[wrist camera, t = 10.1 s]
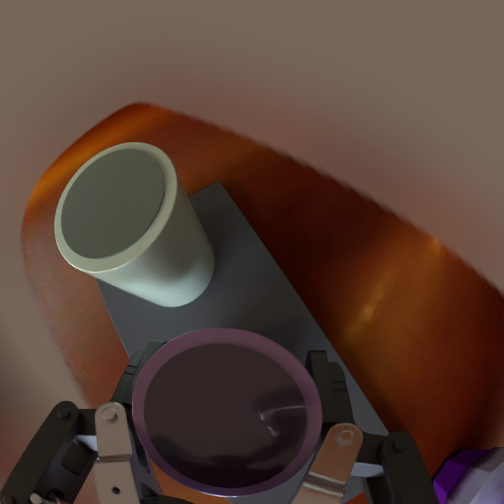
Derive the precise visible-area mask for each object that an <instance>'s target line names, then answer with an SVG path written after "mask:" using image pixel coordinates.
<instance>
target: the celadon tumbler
mask: <svg viewBox="0 0 504 504" xmlns="http://www.w3.org/2000/svg"><path fill="white" fill-rule="evenodd" d="M55 237H56V242H57V245H58V248H59V250H60V252H61V254H62V255H63V257H64V258H65V259H66V260H67V261H68V262H69V264H71V265H72V266H74V267H75V268H77V269H79V270H81V271H83V272H85V273H87V274H89V275H91V276H93V277H95V278H97V279H100V280H102V281H104V282H106V283H108V284H110V285H113V286H115V287H117V288H119V289H121V290H124V291H126V292H128V293H131V294H133V295H135V296H138V297H140V298H142V299H145V300H147V301H150V302H152V303H154V304H157V305H160V306H164V307H177V306H182V305H185V304H187V303H189V302H191V301H193V300H194V299H196V298H197V297H198V296H199V295H201V294H202V293H203V291H204V290H205V289H206V287H207V286H208V284H209V283H210V280H211V278H212V275H213V272H214V267H215V256H214V251H213V248H212V245H211V243H210V241H209V239H208V237H207V235H206V233H205V231H204V229H203V227H202V225H201V223H200V221H199V218H198V216H197V214H196V212H195V210H194V208H193V206H192V204H191V202H190V200H189V197H188V195H187V193H186V191H185V189H184V187H183V185H182V182H181V180H180V178H179V176H178V174H177V172H176V169H175V167H174V165H173V163H172V161H171V160H170V158H169V157H168V156H167V155H166V154H165V153H164V152H163V151H162V150H160V149H159V148H157V147H155V146H153V145H150V144H146V143H139V142H130V143H123V144H119V145H116V146H113V147H110V148H108V149H106V150H104V151H102V152H100V153H99V154H97V155H95V156H94V157H92V158H91V159H90V160H89V161H87V162H86V163H85V164H84V165H83V166H82V167H81V168H80V169H79V170H78V171H77V172H76V173H75V175H74V176H73V177H72V178H71V180H70V181H69V183H68V184H67V186H66V188H65V190H64V192H63V193H62V196H61V198H60V201H59V204H58V207H57V211H56V216H55Z"/></svg>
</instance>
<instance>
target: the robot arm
mask: <svg viewBox="0 0 504 504" xmlns="http://www.w3.org/2000/svg"><path fill="white" fill-rule="evenodd" d="M166 343H167V341H161V340H154V339H151V340H150V341H149V343H148V345H147V347H146V349H145V350H144V349H139V350H138V351H137V352H136V353H134V354H133V355H132V357H131V359H130V361H129V363H128V365H127V367H126V369H125V371H124V374H123V375H122V377H121V379H120V381H119V383H118V386H117V388H116V390H115V392H114V394H113V396H112V398H111V400H110V401H109V402H106V403H103V404H102V405H100V406H99V407H98V408H97V409H78V408H77V406H76V405H75V404H74V403H72V402H70V401H62V402H60V403H58V404H57V405H56V406H55V407H54V408H53V410H52V411H51V412H50V414H49V415H48V417H47V418H46V420H45V421H44V423H43V424H42V425H41V427H40V429H39V430H38V431H37V433H36V434H35V436H34V437H33V439H32V440H31V442H30V443H29V445H28V446H27V448H26V450H25V451H24V453H23V454H22V456H21V458H20V459H19V461H18V463H17V464H16V466H15V467H14V469H13V470H12V472H11V474H10V476H9V477H8V479H7V481H6V482H5V484H4V486H3V488H2V490H1V492H0V504H73V503H74V501H75V499H76V497H77V495H78V493H79V491H80V489H81V487H82V485H83V484H84V482H85V480H86V478H87V476H88V474H89V472H90V471H91V469H92V467H93V469H94V476H95V482H96V488H97V494H98V499H99V504H193V503H191V502H188V501H186V500H184V499H179V498H174V497H170V496H165V495H163V493H162V490H161V487H160V485H159V483H158V481H157V479H156V477H155V475H154V471H153V468H152V464H151V460H150V457H149V455H148V454H147V452H146V451H145V449H144V448H143V446H142V444H141V442H140V440H139V438H138V436H137V433H136V429H135V426H134V422H133V416H132V398H133V391H134V387H135V383H136V380H137V378H138V376H139V373H140V371H141V370H142V368H143V366H144V365H145V363H146V362H147V361H148V359H149V358H150V357H151V356H152V355H153V354H154V353H155V352H156V351H157V350H158V349H159V348H160V347H161V346H163V345H164V344H166ZM305 368H306V369H307V371H308V372H309V374H310V375H311V377H312V379H313V380H314V382H315V385H316V387H317V390H318V392H319V395H320V399H321V404H322V413H323V420H322V430H321V434H320V438H319V441H318V444H317V446H316V449H315V450H314V457H313V459H312V460H311V462H310V464H309V466H308V468H307V470H306V472H305V474H304V475H303V477H302V479H301V481H300V483H299V484H298V486H297V488H296V490H295V491H294V493H293V494H292V496H291V497H290V499H289V501H288V502H287V504H341V502H342V500H343V498H344V495H345V492H346V488H345V486H346V483H347V481H348V478H349V476H350V475H353V476H360V478H361V481H362V484H363V488H364V491H365V495H366V498H367V501H368V504H440V503H439V500H438V498H437V495H436V492H435V490H434V487H433V484H432V482H431V479H430V477H429V474H428V472H427V469H426V467H425V464H424V462H423V459H422V457H421V455H420V452H419V450H418V448H417V445H416V443H415V441H414V439H413V437H412V436H411V435H410V434H409V433H407V432H405V431H393V432H391V433H390V434H388V435H387V436H383V435H375V434H369V433H366V432H364V431H362V430H361V429H360V428H359V427H358V426H357V425H356V423H355V421H354V417H353V412H352V406H351V402H350V397H349V392H348V387H347V383H346V378H345V374H344V370H343V369H342V367H341V366H340V365H339V363H338V362H328V357H327V352H326V350H309V351H308V353H307V358H306V362H305ZM119 492H120V493H119Z"/></svg>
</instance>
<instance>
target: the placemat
mask: <svg viewBox="0 0 504 504" xmlns="http://www.w3.org/2000/svg"><path fill="white" fill-rule="evenodd" d="M189 200H190V202H191V204H192V206H193V208H194V210H195V212H196V214H197V216H198V218H199V221H200V223H201V225H202V227H203V229H204V231H205V233H206V235H207V237H208V239H209V241H210V243H211V245H212V248H213V251H214V256H215V267H214V272H213V275H212V278H211V280H210V283H209V284H208V286H207V287H206V289H205V290H204V291H203V293H202V294H201V295H199V296H198V297H197V298H196V299H194V300H193V301H191V302H189V303H187V304H185V305H182V306H177V307H164V306H160V305H157V304H154V303H152V302H150V301H147V300H145V299H142V298H140V297H138V296H135V295H133V294H131V293H128V292H126V291H124V290H121V289H119V288H117V287H115V286H113V285H110V284H108V283H106V282H104V281H102V280H100V279H97V278H96V281H97V284H98V287H99V289H100V292H101V295H102V297H103V300H104V302H105V305H106V307H107V310H108V312H109V314H110V317H111V319H112V321H113V324H114V326H115V328H116V330H117V333H118V335H119V337H120V339H121V341H122V343H123V345H124V347H125V350H126V352H127V354H128V356H129V358H130V359H131V357H132V355H133V354H134V353H136V352H137V351H138V350H139V349H144V350H145V349H146V347H147V345H148V343H149V341H150V340H151V339H154V340H161V341H167V342H169V341H170V340H172V339H174V338H176V337H178V336H180V335H182V334H185V333H188V332H191V331H194V330H199V329H204V328H214V327H227V328H237V329H243V330H247V331H251V332H254V333H258V334H260V335H262V336H265V337H267V338H269V339H271V340H273V341H275V342H276V343H278V344H280V345H282V346H283V347H284V348H286V349H287V350H288V351H290V352H291V353H292V354H293V355H294V356H295V357H296V358H297V359H298V360H299V361H300V362H301V363H302V364H303V365H304V367H305V362H306V358H307V353H308V351H309V350H326V352H327V357H328V362H338V363H339V365H340V366H341V367H342V369H343V370H344V374H345V378H346V383H347V387H348V392H349V397H350V402H351V406H352V412H353V417H354V421H355V423H356V425H357V426H358V427H359V428H360V429H361V430H362V431H364V432H366V433H369V434H375V435H383V436H387V435H388V434H390V433H389V431H388V430H387V428H386V427H385V425H384V423H383V422H382V420H381V419H380V417H379V416H378V414H377V413H376V411H375V410H374V408H373V406H372V405H371V403H370V402H369V400H368V399H367V397H366V396H365V394H364V393H363V391H362V390H361V388H360V386H359V385H358V383H357V382H356V380H355V379H354V377H353V376H352V374H351V373H350V371H349V370H348V368H347V367H346V365H345V364H344V362H343V361H342V359H341V358H340V356H339V355H338V353H337V352H336V350H335V349H334V347H333V346H332V344H331V343H330V341H329V340H328V338H327V337H326V335H325V334H324V332H323V331H322V329H321V328H320V326H319V325H318V323H317V322H316V320H315V319H314V317H313V316H312V314H311V313H310V311H309V310H308V308H307V307H306V305H305V304H304V302H303V301H302V299H301V298H300V296H299V295H298V293H297V292H296V291H295V289H294V288H293V286H292V285H291V283H290V282H289V280H288V279H287V277H286V276H285V274H284V273H283V271H282V270H281V269H280V267H279V266H278V264H277V263H276V261H275V260H274V258H273V257H272V255H271V254H270V253H269V251H268V250H267V248H266V247H265V245H264V244H263V242H262V241H261V240H260V238H259V237H258V235H257V234H256V232H255V231H254V229H253V228H252V227H251V225H250V224H249V222H248V221H247V219H246V218H245V217H244V215H243V214H242V212H241V211H240V209H239V208H238V207H237V205H236V204H235V202H234V201H233V199H232V198H231V197H230V195H229V194H228V192H227V191H226V189H225V188H224V187H223V185H222V184H221V182H220V181H217V182H215V183H213V184H211V185H209V186H208V187H206V188H204V189H202V190H200V191H199V192H197V193H195V194H193V195H192V196H190V197H189ZM313 457H314V452H313V454H312V456H311V457H310V459H309V460H308V462H307V463H306V464H305V465H304V467H303V468H302V469H301V470H300V471H299V472H298V473H297V474H295V475H294V476H293V477H292V478H290V479H289V480H288V481H286V482H285V483H283V484H281V485H279V486H277V487H275V488H273V489H271V490H268V491H266V492H263V493H259V494H255V495H249V496H242V497H226V498H227V499H228V500H229V501H230V502H231V504H287V502H288V501H289V499H290V497H291V496H292V494H293V493H294V491H295V490H296V488H297V486H298V484H299V483H300V481H301V479H302V477H303V475H304V474H305V472H306V470H307V468H308V466H309V464H310V462H311V460H312V459H313ZM345 488H346V492H345V495H344V498H343V500H342V502H341V504H343V503H345V502H347V501H348V500H350V499H352V498H353V497H355V496H356V495H358V494H360V493H361V492H363V491H364V488H363V484H362V481H361V478H360V476H353V475H350V476H349V478H348V481H347V483H346V486H345Z"/></svg>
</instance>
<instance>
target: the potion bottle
mask: <svg viewBox="0 0 504 504" xmlns="http://www.w3.org/2000/svg"><path fill="white" fill-rule="evenodd" d="M431 482H432V484H433V487H434V490H435V492H436V495H437V498H438V500H439V503H440V504H504V447H494V448H492V449H491V450H469V449H467V448H464V447H463V448H461V449H460V450H459V451H457V452H456V453H454V454H453V455H451V456H449V457H448V458H446V459H445V460H444V462H443V463H442V465H441V466H440V468H439V469H438V471H437V472H436V473H435V475H434V476H433V477H432V479H431Z"/></svg>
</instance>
